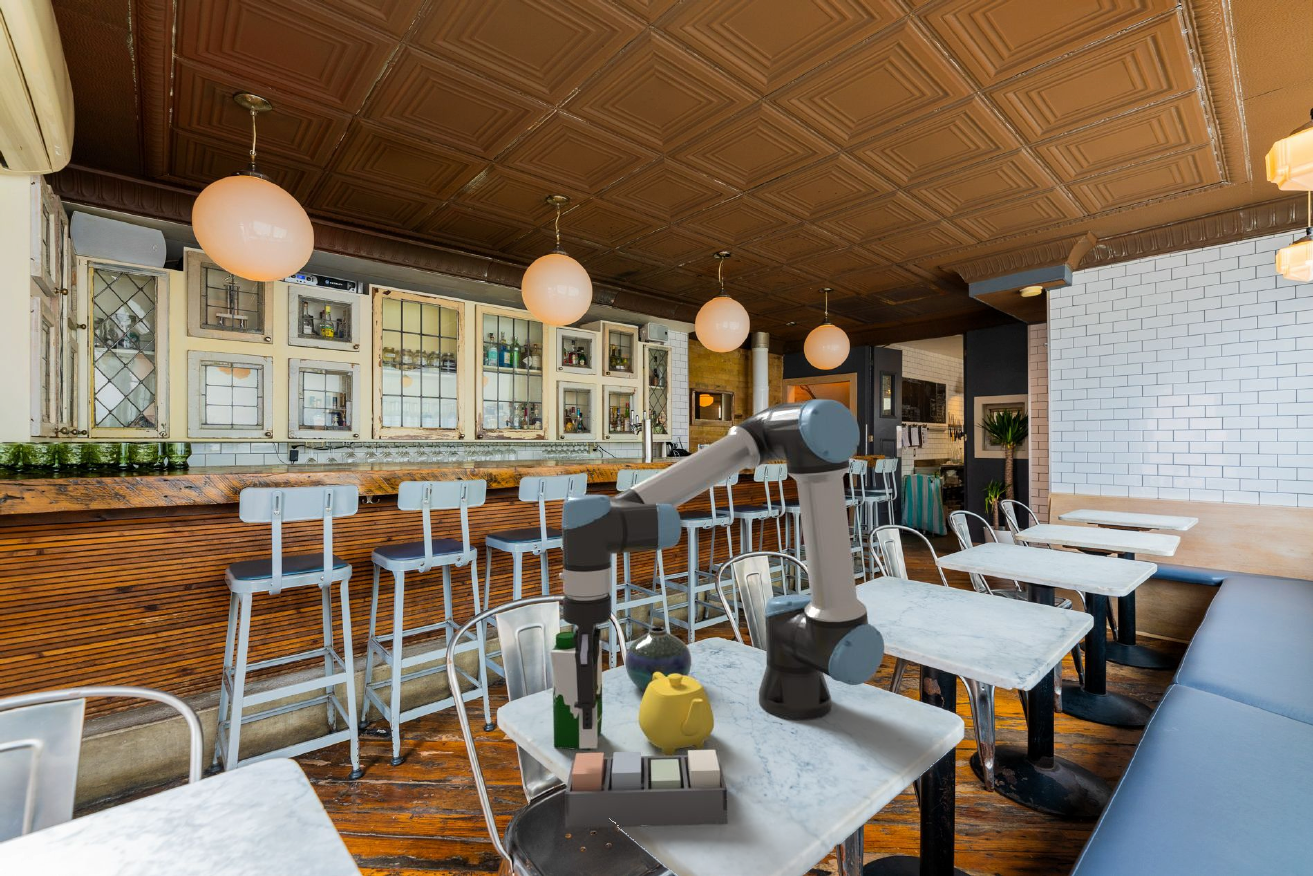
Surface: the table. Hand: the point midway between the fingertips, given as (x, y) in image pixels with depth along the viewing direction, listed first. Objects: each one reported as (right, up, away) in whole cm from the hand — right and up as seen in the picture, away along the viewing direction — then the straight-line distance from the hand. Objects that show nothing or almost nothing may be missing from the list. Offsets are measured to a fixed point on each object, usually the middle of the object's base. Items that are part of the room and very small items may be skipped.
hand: (588, 745), depth 92 cm
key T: (+12, -7, 0) cm, 14 cm away
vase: (+11, -10, +45) cm, 48 cm away
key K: (+6, -6, 0) cm, 8 cm away
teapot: (+15, -10, +19) cm, 26 cm away
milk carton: (-4, -10, +21) cm, 24 cm away
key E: (0, -6, 0) cm, 6 cm away
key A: (+18, -6, 0) cm, 19 cm away
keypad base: (+9, -9, 0) cm, 13 cm away
